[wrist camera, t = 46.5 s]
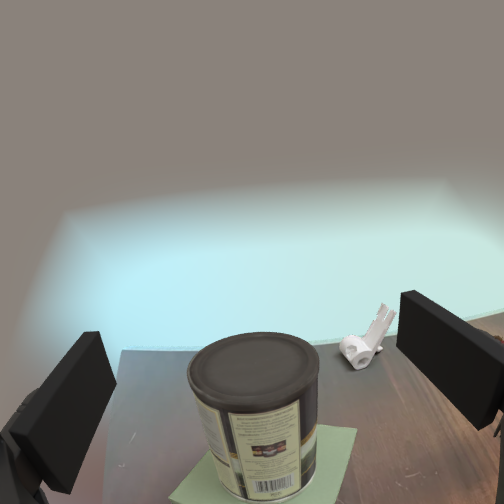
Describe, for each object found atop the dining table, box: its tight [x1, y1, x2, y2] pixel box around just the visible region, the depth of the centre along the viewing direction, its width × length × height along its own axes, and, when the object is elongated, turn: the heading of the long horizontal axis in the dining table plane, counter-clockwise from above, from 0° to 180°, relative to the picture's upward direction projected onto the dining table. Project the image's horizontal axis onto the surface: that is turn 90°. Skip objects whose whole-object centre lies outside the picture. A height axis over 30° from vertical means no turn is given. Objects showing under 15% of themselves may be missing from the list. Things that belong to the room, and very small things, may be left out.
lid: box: [168, 424, 357, 504], centre depth 26 cm, size 15×16×1 cm
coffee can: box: [187, 332, 319, 504], centre depth 25 cm, size 10×10×14 cm
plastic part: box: [339, 303, 396, 370], centre depth 60 cm, size 8×10×12 cm
